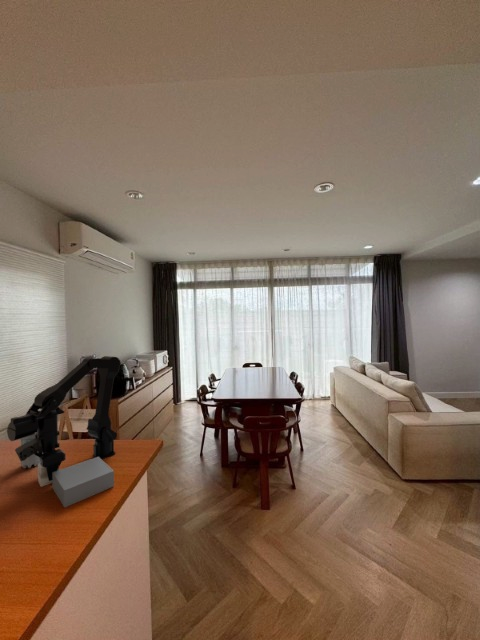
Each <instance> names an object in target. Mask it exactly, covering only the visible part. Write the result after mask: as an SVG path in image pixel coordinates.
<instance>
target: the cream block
mask: <svg viewBox="0 0 480 640" xmlns="http://www.w3.org/2000/svg"><path fill="white" fill-rule="evenodd" d="M40 463H41V462H40ZM40 463H38V464H37V482H38V484H39V486H40V488H41V487H44V486H47V485H50V484H53V480H51V481H49V479H48V475H47V471H46V468H45V467H42V466H41V464H40ZM58 470H60V467H59V468H58ZM58 470H57V471H58Z"/></svg>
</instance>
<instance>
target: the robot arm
mask: <svg viewBox="0 0 480 640" xmlns="http://www.w3.org/2000/svg"><path fill="white" fill-rule="evenodd" d="M121 364H122V362H121V360H120V358H118V357H117V356H109V355H104V356H102V357H101V358H96V357H95V358H94V357H86V358H84V359H82V360H81V362H80V363H78V365H76V366H75V367H74V368H73V369H72V370H71V371H69V372H68V373H67V374H66V375H65V376H64V377H62V378H61V380H59V381H58V382H57V383H55V384H53V385H51V386H49V387H47V388H46V389H44V390H42V391H41V392H39V393H38V394H37V395H36V396H35V397H34V400H33V401H34V402H33V403H32V405H31V406H30V407H29V409H28V410H27V411H26V413H25V415H21V416H14V417H11V418H10V422H9V423H8V426H7V428H6V433H7V437H8V439H9V440H10V442H14V441H17V440H21V438H24V437H27V436H31V435H34V434H35V433H36V432H37V433H36V435H35V439H33V440H31V441H29V442H27V443H25V444H23V445H21V444H20V446H18V447H16V448H15V449H14V451H15V453H16V456H17V457H18V459H19V460H20V462H21V461H24V460H26V459H27V458H28V457H30V456H31V455H33V454H35V455H36V456H38V457H39V458H40V462H41V463H40V464H41V466H42V467H45V468H46V471H47V475H48V479H49V481H51V480H53V477H52V472H55V471H57V470H58V468H59V469H60V466H61V464H62V462H64V461H65V460H66V457H67V456H66V452H64V450H62V449H60V443H59V436H60V431H59V429H58V428H59V427H58V426H59V425H58V423H59V421H58V418H59V417H58V416H59V415H62V414H64V413H65V411H64V410H63V409H61V407H60V406H61V404H62V403H63V402H64V401H65V399H66V397H67V394H68V393H69V392H70V391H71V390H72V389H73V388H74V387H75V386H76V385H77V384H78V383H79V382H80V381H81V380H82V379H84V378H85V377H86V376H87V375H88V374H90V372H91V371H92V370H93V369H97V371H98V374H99V377H100V381H99V386H98V387H99V388H98V392H97V400H96V407H95V411H94V412H95V414H94V415H93V417H92V418H88V421H87V427H86V430H87V434H88V435H89V436H91V438H92V440H94V444H93V445H92V446H93V453H92V455H93V456H94V458H96V457H99V458H101V459H102V460H103V459H105V458H108V457H111V456H114V455H116V451H115V448H114V447H115V446H114V443H115V440H116V439H117V437H118V433H117V432H115V431H114V430H112V421H111V418H110V415H109V412H110V406H111V401H112V395H113V393H112V392H113V385H114V380H115V377H116V376H117V375H118V373H119V371H120V368H121ZM26 414H27V415H26ZM57 448H58V449H57Z"/></svg>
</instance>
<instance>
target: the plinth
mask: <svg viewBox="0 0 480 640" xmlns="http://www.w3.org/2000/svg"><path fill="white" fill-rule="evenodd" d="M52 477H53V483H52V489H53V491H54V493H55V495H56V496H57V498H58V500H59V501H60V503H61V504H62V506H63V508H67V507H69V506H71V505H74V504H76V503H79V502H81V501H83V500H85V499H88V498H90V497H93V496H95V495H97V494H99V493H102V492H104V491H106V490H108V489H110V488H113V487H115V470H113V469H112V467H110V466H109V465H108V464H107V463H106V462H105V461H104V460H103V458H102V459H101V458H99V457H93V458H90V459H87V460H85V461H81V462H79V463H76V464H73V465H70V466H66V467H64V468H61V469H59V470H58V471H55V472H52Z"/></svg>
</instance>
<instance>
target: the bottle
mask: <svg viewBox="0 0 480 640" xmlns="http://www.w3.org/2000/svg"><path fill="white" fill-rule="evenodd" d="M25 415H27V414H26V413H25ZM36 433H37V432H36ZM36 433H35V434H34V435H31V436H27V437H24V438H21V439H20V446H21V445H23V444H25V443H27V442H29V441H31V440H33V439H35V435H36ZM38 463H40V458H39V457H38V456H36V455H35V454H33V455H31V456H30V457H28V458H27V459H26V460H24V461H20V465H21V467H22V468H23V469H26V468H28V469H30V468H32V466H34V467H37V466H38Z"/></svg>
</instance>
